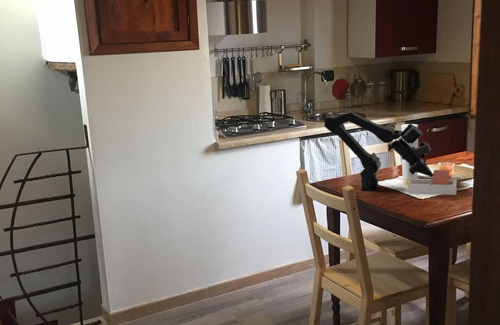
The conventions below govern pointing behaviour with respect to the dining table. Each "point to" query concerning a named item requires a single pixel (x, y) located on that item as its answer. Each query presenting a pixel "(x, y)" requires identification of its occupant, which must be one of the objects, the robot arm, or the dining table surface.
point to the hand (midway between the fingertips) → (432, 176)
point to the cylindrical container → (405, 164)
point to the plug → (441, 177)
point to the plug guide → (432, 187)
